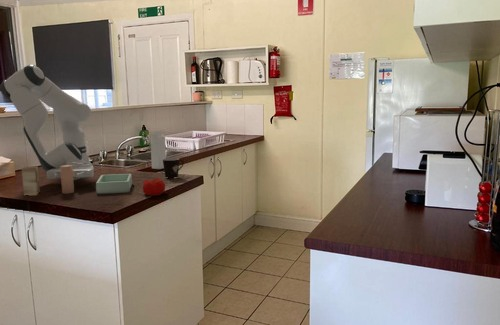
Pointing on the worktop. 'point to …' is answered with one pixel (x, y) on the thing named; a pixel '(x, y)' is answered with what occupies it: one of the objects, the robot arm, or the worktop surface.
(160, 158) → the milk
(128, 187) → the tote
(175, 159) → the coffee mug
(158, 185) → the tomato
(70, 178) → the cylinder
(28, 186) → the block
